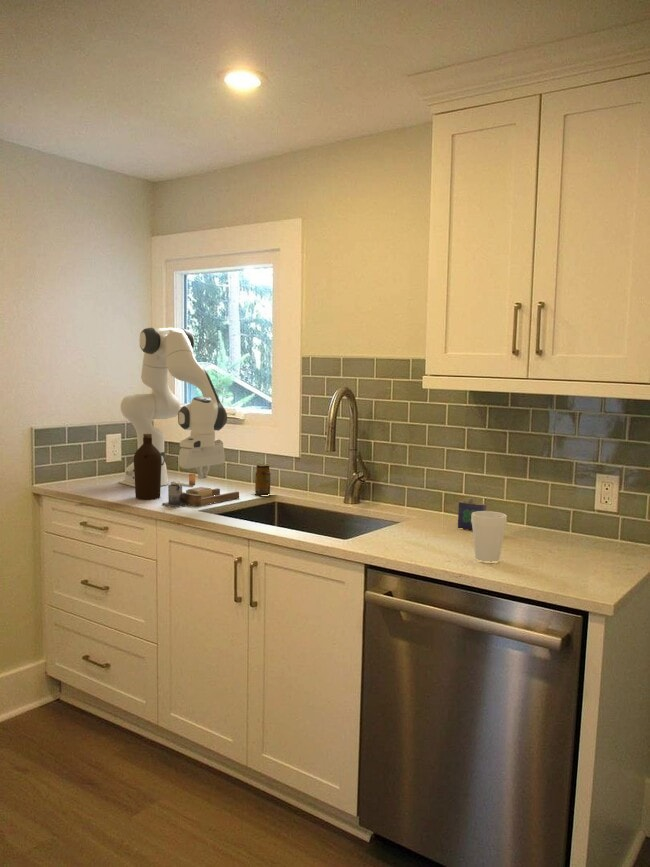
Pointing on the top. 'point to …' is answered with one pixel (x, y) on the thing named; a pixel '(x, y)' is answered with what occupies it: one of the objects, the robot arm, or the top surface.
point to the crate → (200, 491)
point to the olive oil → (147, 470)
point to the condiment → (262, 480)
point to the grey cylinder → (175, 496)
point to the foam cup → (488, 534)
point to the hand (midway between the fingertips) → (202, 478)
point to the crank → (191, 483)
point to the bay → (198, 501)
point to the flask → (468, 512)
